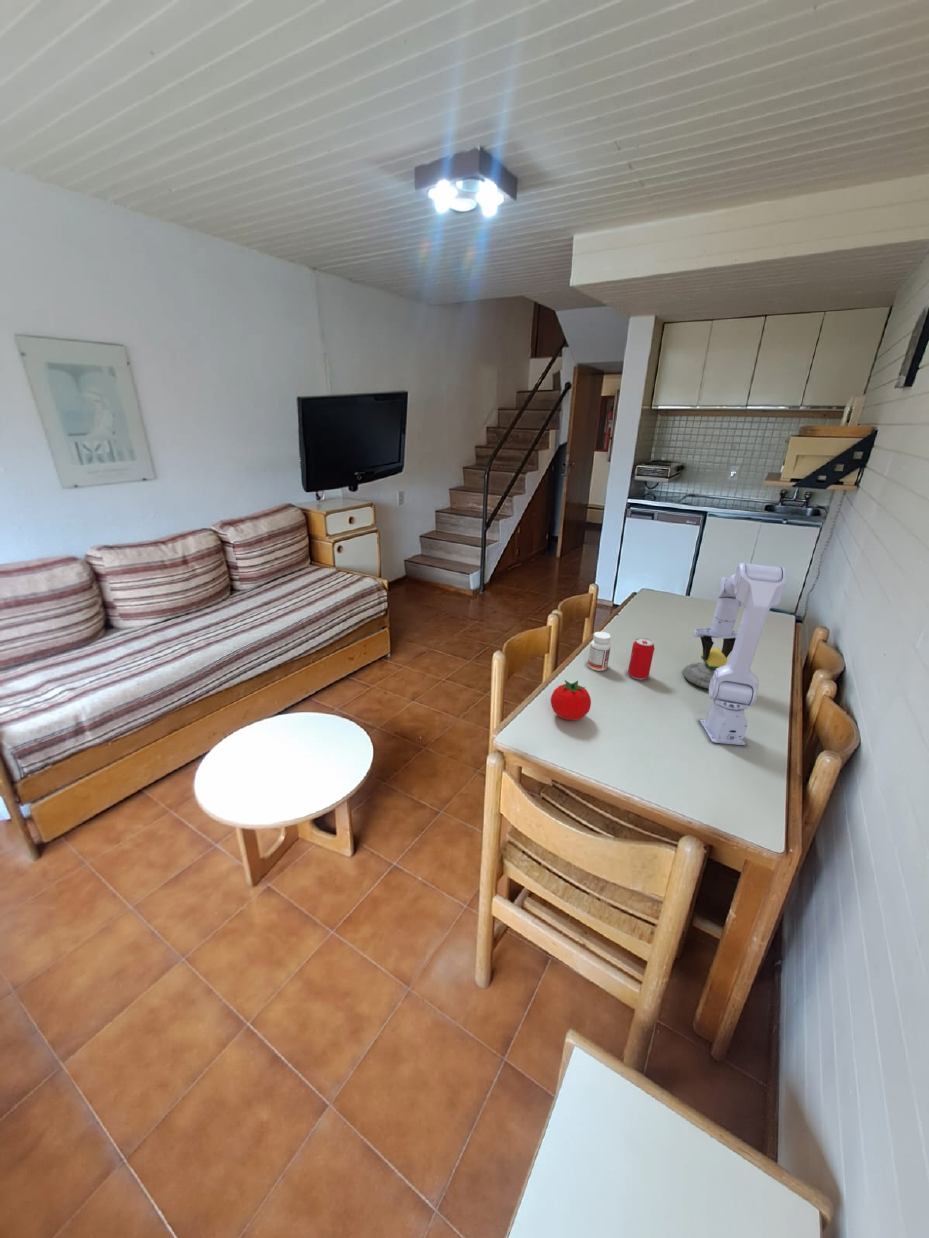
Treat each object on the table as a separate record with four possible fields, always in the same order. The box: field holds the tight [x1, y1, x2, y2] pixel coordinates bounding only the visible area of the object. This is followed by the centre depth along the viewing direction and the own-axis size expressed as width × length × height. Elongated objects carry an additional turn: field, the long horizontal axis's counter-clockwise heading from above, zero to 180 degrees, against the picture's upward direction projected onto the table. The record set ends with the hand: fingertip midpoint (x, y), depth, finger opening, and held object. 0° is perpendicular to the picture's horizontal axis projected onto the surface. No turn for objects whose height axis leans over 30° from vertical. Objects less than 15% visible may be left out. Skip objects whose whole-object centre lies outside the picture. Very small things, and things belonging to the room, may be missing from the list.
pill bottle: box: [587, 631, 612, 672], centre depth 156 cm, size 6×6×11 cm
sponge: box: [700, 647, 728, 669], centre depth 148 cm, size 7×4×4 cm, turn 174°
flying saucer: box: [681, 662, 716, 690], centre depth 151 cm, size 15×15×6 cm
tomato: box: [550, 679, 592, 721], centre depth 130 cm, size 10×10×10 cm
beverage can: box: [627, 637, 655, 680], centre depth 151 cm, size 6×6×12 cm
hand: (713, 659), depth 149 cm, fingers closed on sponge, 4 cm apart
